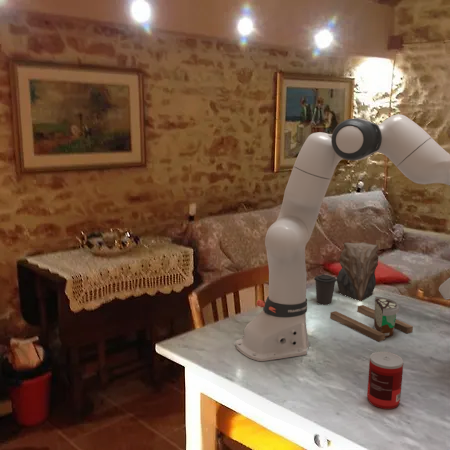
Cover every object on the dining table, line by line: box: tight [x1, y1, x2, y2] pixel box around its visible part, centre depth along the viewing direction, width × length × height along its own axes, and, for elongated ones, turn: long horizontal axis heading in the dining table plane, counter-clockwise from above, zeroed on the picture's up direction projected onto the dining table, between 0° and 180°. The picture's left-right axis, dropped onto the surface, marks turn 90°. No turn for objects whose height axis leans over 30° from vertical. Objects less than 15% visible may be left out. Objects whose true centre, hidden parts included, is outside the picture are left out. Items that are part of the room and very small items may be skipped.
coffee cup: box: [313, 274, 337, 306], centre depth 192 cm, size 8×8×10 cm
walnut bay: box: [329, 304, 414, 343], centre depth 172 cm, size 15×22×2 cm
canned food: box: [366, 351, 404, 410], centre depth 124 cm, size 8×8×11 cm
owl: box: [336, 241, 379, 302], centre depth 200 cm, size 13×13×20 cm
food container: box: [373, 296, 400, 339], centre depth 165 cm, size 12×6×10 cm, turn 176°
